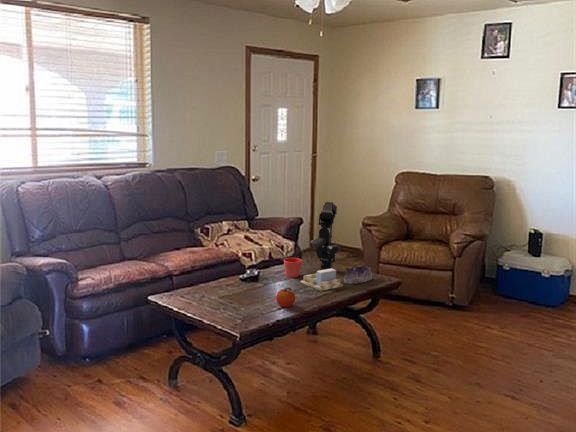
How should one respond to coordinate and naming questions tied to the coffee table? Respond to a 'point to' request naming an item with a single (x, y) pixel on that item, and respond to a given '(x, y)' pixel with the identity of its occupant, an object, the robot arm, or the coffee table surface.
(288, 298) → the fruit
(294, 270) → the flower pot
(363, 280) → the geode
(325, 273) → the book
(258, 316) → the coffee table surface
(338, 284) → the rack
